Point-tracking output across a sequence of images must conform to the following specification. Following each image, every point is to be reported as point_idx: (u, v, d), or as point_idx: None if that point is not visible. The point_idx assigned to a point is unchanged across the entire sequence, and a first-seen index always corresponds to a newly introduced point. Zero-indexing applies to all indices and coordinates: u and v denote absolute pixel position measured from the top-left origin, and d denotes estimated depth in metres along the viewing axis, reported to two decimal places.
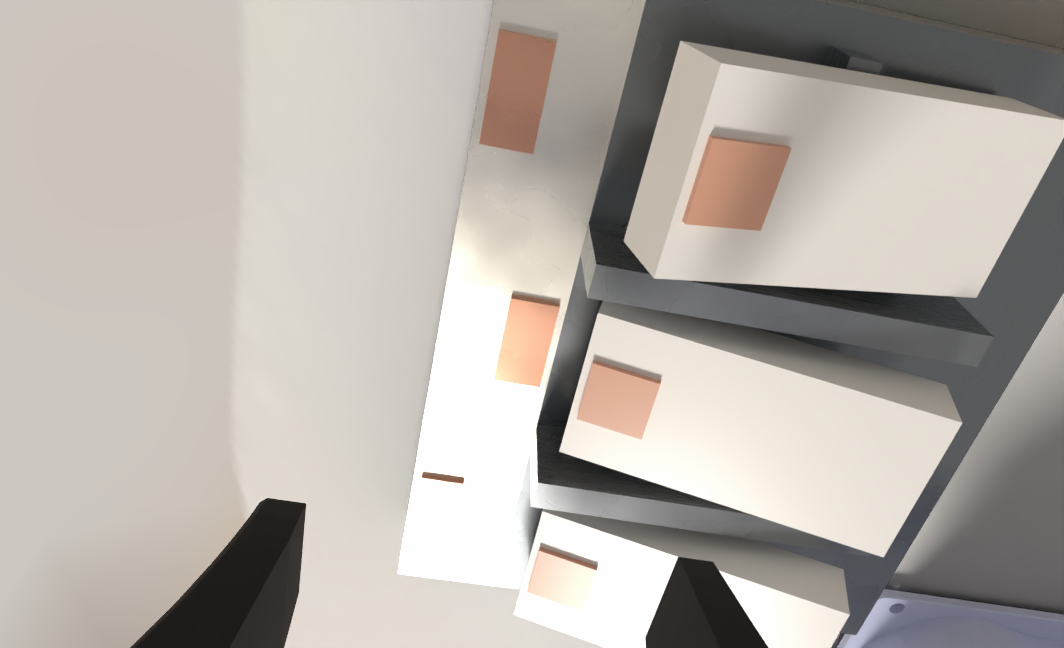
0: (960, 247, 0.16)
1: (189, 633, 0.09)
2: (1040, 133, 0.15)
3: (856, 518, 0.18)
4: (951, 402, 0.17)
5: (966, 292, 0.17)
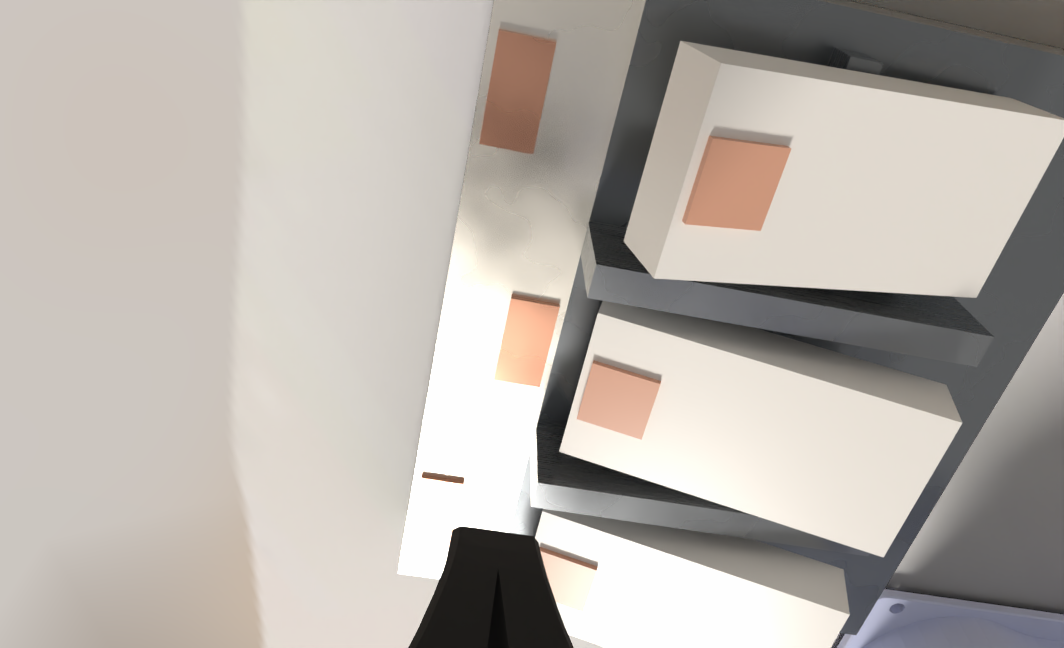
0: (960, 247, 0.16)
1: None
2: (1040, 133, 0.15)
3: (856, 518, 0.18)
4: (951, 402, 0.17)
5: (966, 292, 0.17)
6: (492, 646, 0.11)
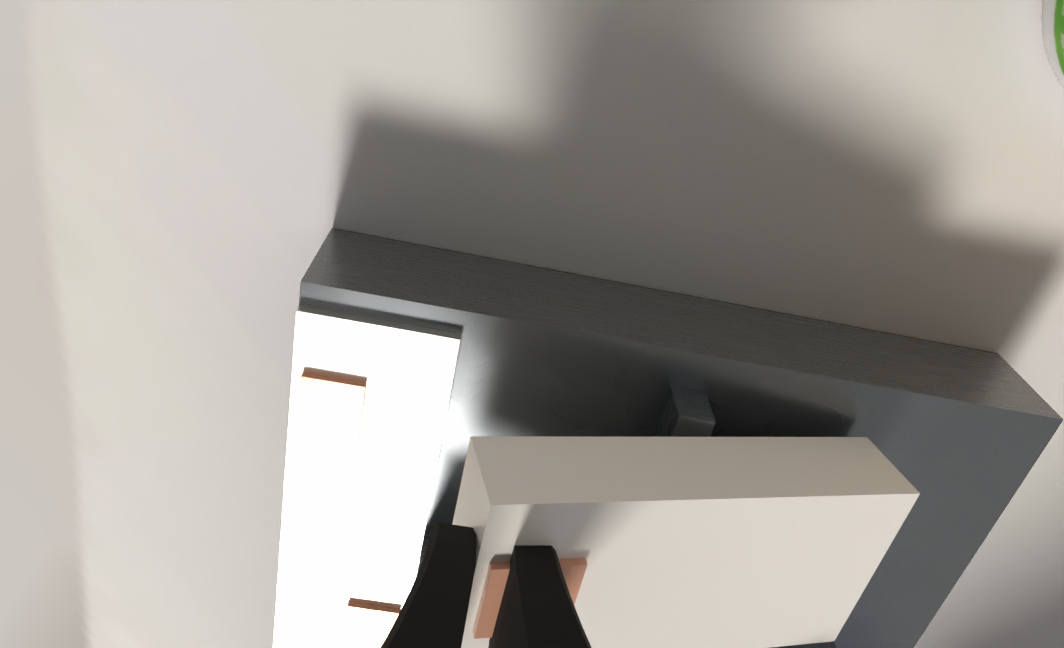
0: (807, 606, 0.15)
1: None
2: (884, 507, 0.14)
3: None
4: None
5: (821, 638, 0.16)
6: None
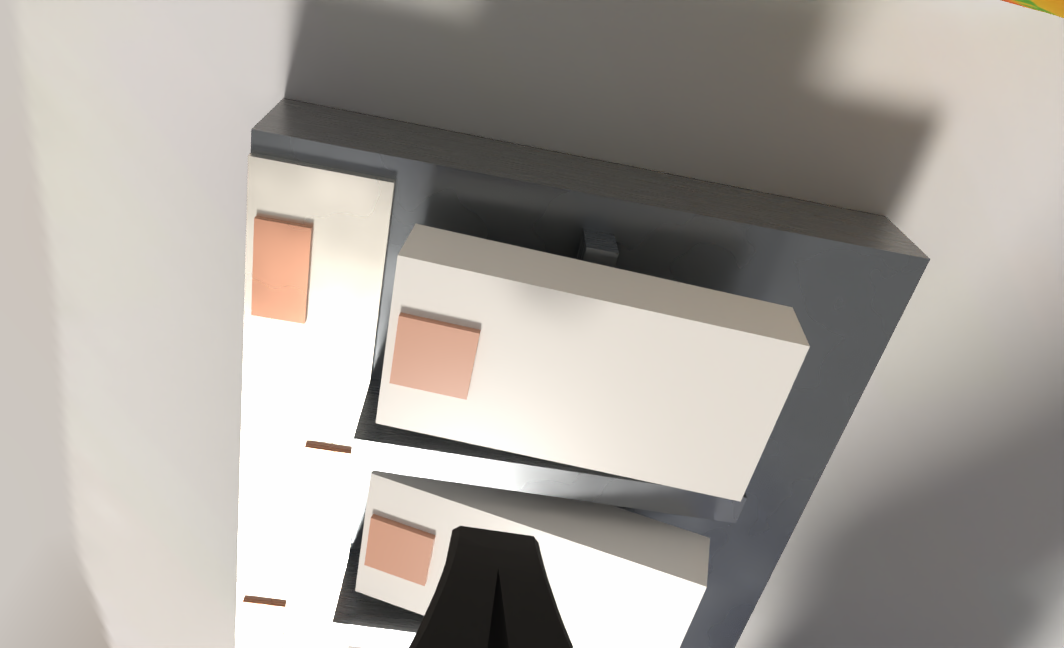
0: (704, 448, 0.16)
1: None
2: (771, 353, 0.15)
3: None
4: (705, 561, 0.18)
5: (726, 494, 0.17)
6: (492, 646, 0.11)
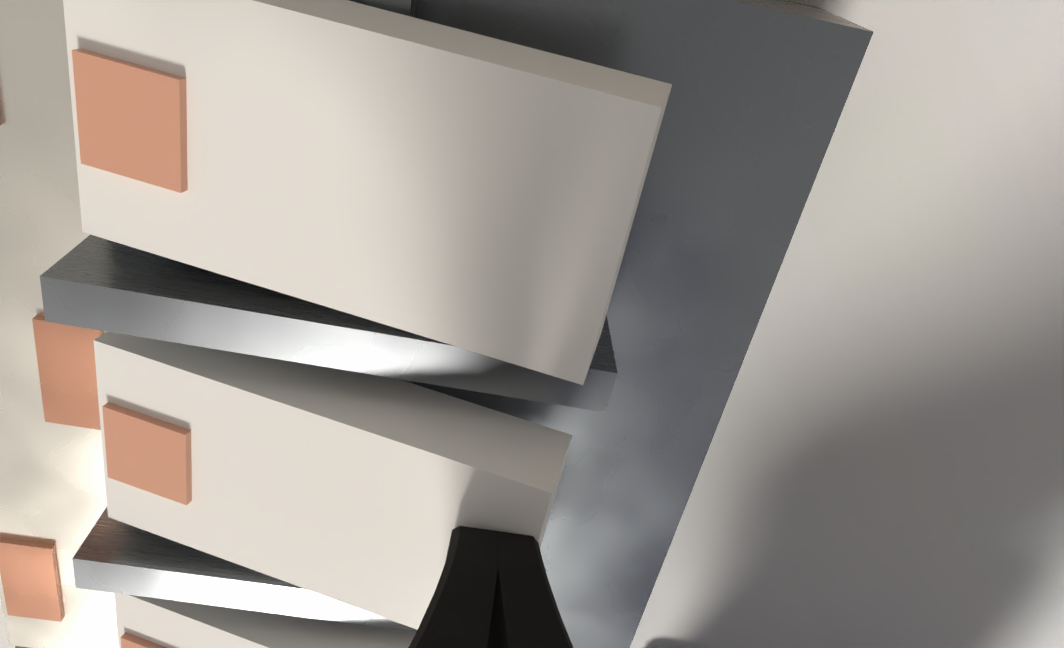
0: (521, 291, 0.11)
1: None
2: (603, 120, 0.09)
3: None
4: (558, 461, 0.13)
5: (560, 371, 0.11)
6: (492, 646, 0.11)
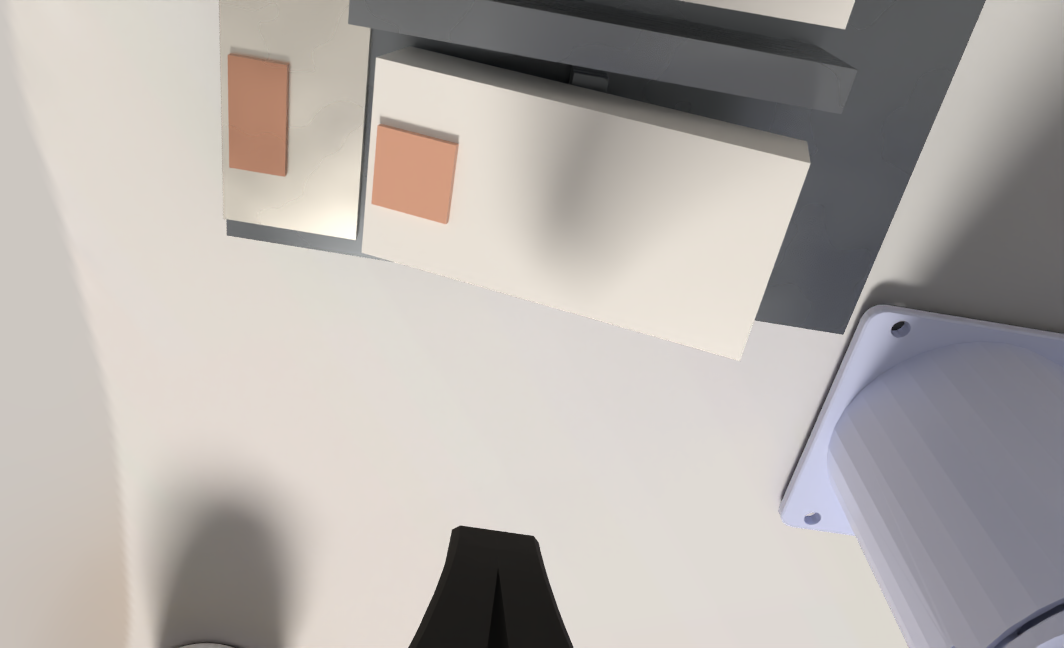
0: None
1: None
2: None
3: None
4: None
5: None
6: (492, 646, 0.11)
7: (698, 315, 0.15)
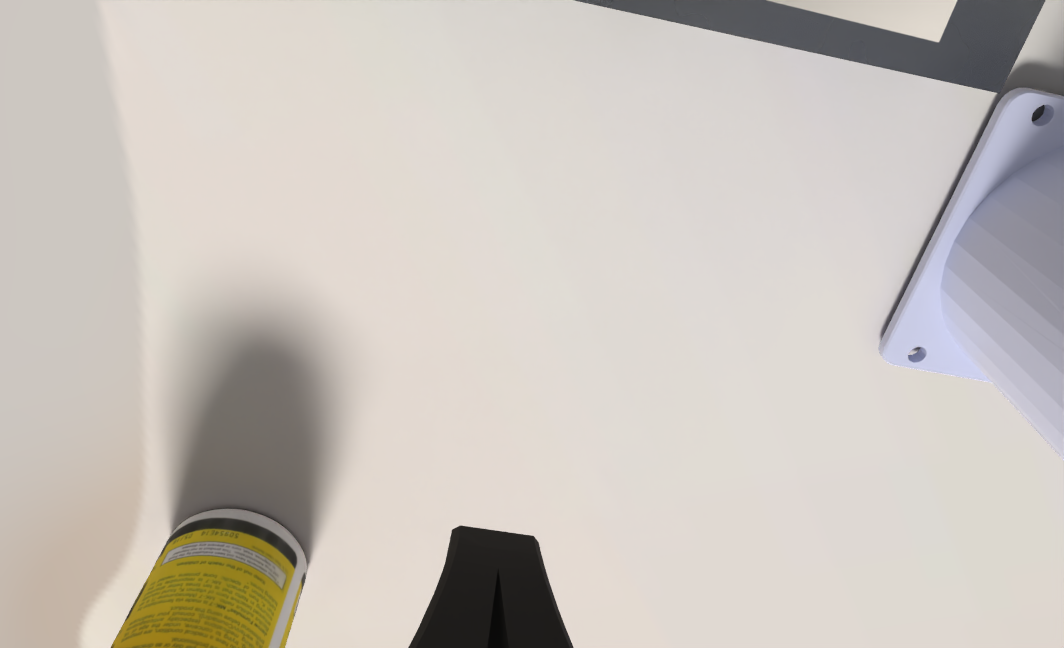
0: None
1: None
2: None
3: None
4: None
5: None
6: (492, 646, 0.11)
7: None
